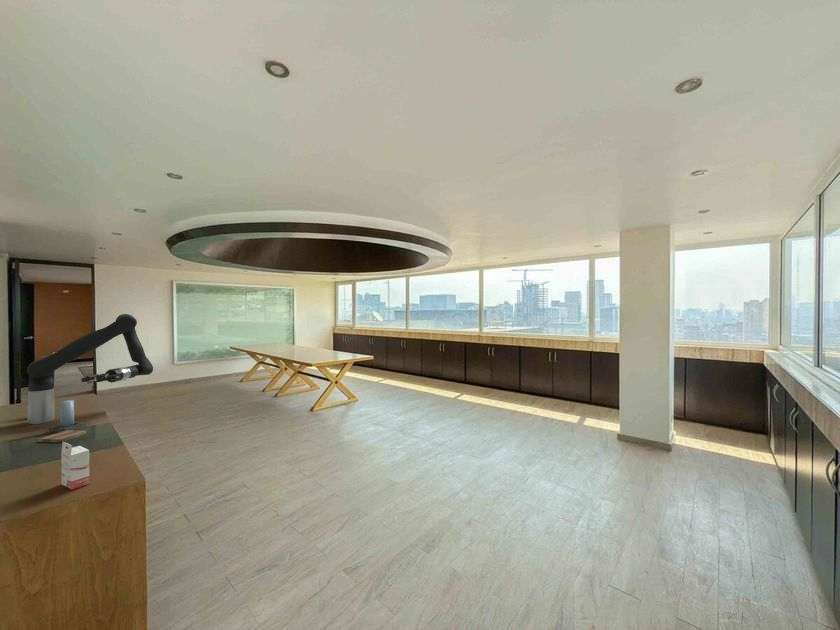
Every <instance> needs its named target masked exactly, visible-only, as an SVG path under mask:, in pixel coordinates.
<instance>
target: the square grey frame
mask: <svg viewBox="0 0 840 630" xmlns="http://www.w3.org/2000/svg"><path fill="white" fill-rule="evenodd" d="M82 426H86V422H85V421H84V422H83V421H81V422H80V421H79V422H77V421H76V422H75V421H74V425H73V426H70V427H67V428H60V424H57V425H54V426H51V427H48V433H59V432H62V431H65V430H73V429H75V430H77V429H76V428H78V429H80V428H79V427H82ZM82 428H83V427H82Z"/></svg>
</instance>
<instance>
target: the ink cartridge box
mask: <svg viewBox="0 0 840 630" xmlns="http://www.w3.org/2000/svg"><path fill="white" fill-rule="evenodd" d="M66 447H67V448H66ZM60 453H61V456H60V457H61V458H60V460H61V485H62V486H64V487H66V488H67V489H69V490H71V491H72V490H74V489H77V488H81V487H84V486H87V485H90V481H91V480H90V450H89V449H88V448H85V447H84V446H81V445H77V446H72V444H69V443H68V442H66V441H65V442H62V444H61V452H60Z"/></svg>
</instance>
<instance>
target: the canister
mask: <svg viewBox="0 0 840 630" xmlns="http://www.w3.org/2000/svg"><path fill="white" fill-rule="evenodd" d="M74 422H75V400H74V399H68V400H62V401H59V425H60V428H67V427H70V426H73V425H74Z"/></svg>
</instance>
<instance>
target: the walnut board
mask: <svg viewBox="0 0 840 630" xmlns="http://www.w3.org/2000/svg"><path fill="white" fill-rule="evenodd" d="M84 434H85V435H87V434H88V431H87V430H77V429H75V430H65V431H62V432H54V433H52V434H49V435H46V436H44V437H40V438H38V442H39V443H59V442H62V443H63V442H64V441H65V442H68V441H70V439H71V440H73V438H74V439H77V438H79V437H82V436H85V435H84ZM81 435H82V436H81ZM67 440H68V441H67Z"/></svg>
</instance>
